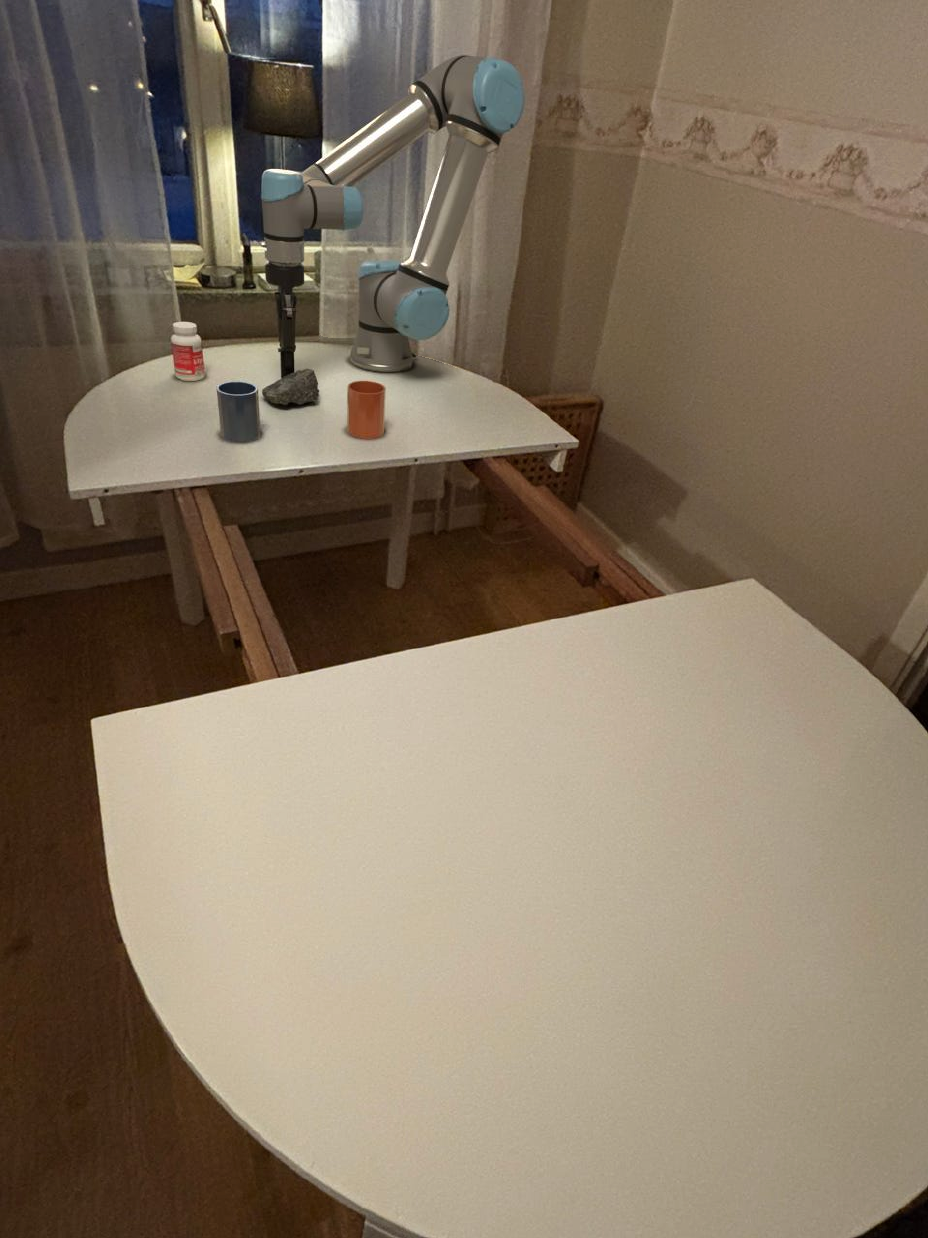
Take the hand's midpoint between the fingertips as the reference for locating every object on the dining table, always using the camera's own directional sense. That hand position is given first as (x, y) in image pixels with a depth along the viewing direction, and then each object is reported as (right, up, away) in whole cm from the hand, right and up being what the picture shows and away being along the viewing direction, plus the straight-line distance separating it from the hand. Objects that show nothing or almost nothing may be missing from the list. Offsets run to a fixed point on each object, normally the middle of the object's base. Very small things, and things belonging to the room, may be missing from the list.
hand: (288, 380), depth 158 cm
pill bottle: (-22, +2, +3) cm, 22 cm away
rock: (+1, -6, -3) cm, 6 cm away
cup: (-5, -16, -19) cm, 25 cm away
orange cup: (+18, -14, -11) cm, 25 cm away
